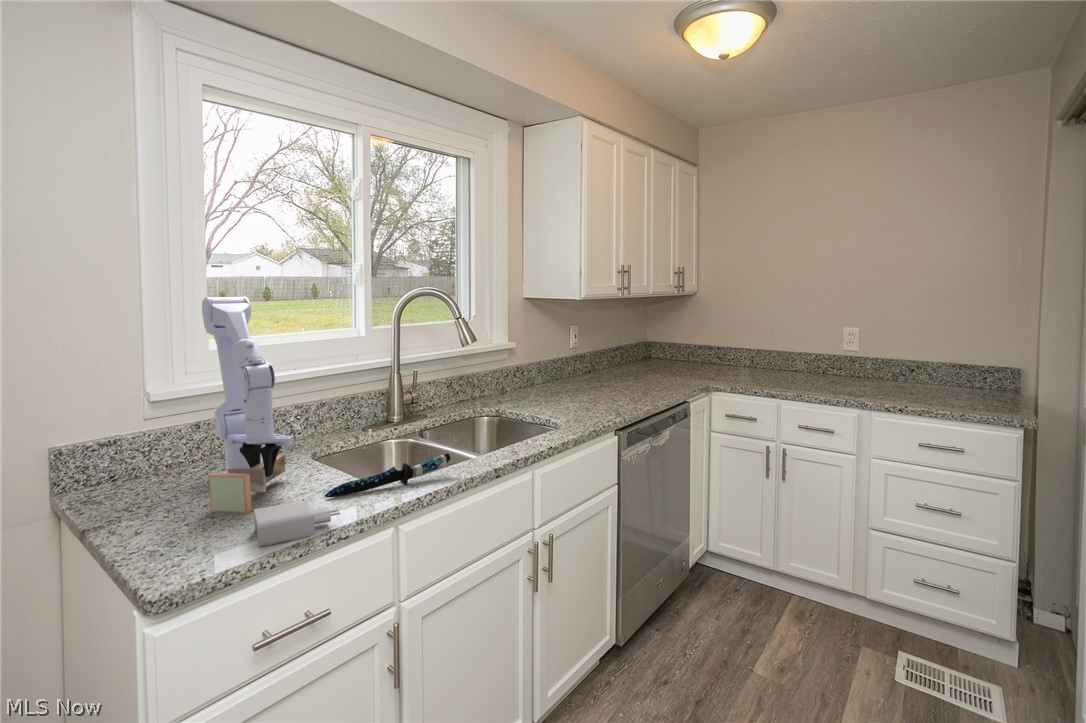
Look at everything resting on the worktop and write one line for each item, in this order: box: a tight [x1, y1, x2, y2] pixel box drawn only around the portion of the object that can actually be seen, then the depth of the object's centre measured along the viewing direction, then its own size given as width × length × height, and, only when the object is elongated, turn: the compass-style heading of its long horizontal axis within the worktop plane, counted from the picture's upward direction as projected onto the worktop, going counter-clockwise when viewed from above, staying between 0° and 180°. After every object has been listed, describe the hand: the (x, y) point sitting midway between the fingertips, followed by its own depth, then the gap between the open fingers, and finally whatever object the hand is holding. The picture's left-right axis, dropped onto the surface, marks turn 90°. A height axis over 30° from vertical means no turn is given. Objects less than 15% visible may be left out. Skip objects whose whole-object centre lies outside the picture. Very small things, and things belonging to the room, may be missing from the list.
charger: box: [253, 500, 341, 548], centre depth 113 cm, size 5×9×15 cm
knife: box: [324, 453, 451, 498], centre depth 137 cm, size 31×3×4 cm, turn 120°
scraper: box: [228, 454, 286, 493], centre depth 134 cm, size 14×8×5 cm, turn 175°
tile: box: [207, 471, 253, 514], centre depth 122 cm, size 2×8×8 cm, turn 85°
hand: (262, 475), depth 134 cm, fingers closed on scraper, 2 cm apart
